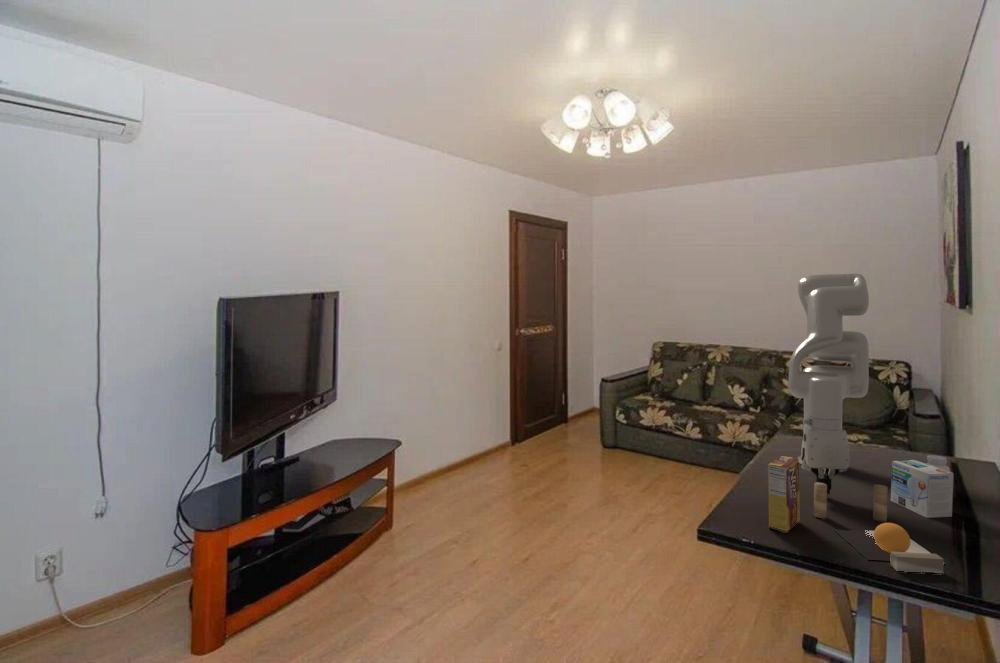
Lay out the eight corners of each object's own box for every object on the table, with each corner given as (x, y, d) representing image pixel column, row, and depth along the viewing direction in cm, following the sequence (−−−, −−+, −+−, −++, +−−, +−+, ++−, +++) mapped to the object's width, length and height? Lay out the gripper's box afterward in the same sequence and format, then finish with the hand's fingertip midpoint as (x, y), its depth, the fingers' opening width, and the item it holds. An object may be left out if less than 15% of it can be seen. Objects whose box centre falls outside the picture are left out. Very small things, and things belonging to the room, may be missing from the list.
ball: (885, 556, 101) (869, 548, 107) (919, 558, 100) (900, 550, 106) (882, 525, 102) (866, 519, 108) (915, 527, 101) (897, 520, 107)
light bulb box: (889, 501, 131) (890, 460, 130) (913, 500, 131) (914, 459, 131) (927, 518, 120) (928, 474, 120) (953, 517, 121) (955, 472, 120)
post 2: (870, 516, 121) (871, 484, 121) (882, 517, 121) (883, 484, 121) (877, 521, 119) (877, 488, 118) (889, 522, 118) (890, 488, 118)
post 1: (811, 514, 123) (812, 482, 123) (823, 514, 123) (823, 482, 123) (816, 518, 121) (817, 486, 120) (828, 519, 120) (829, 486, 120)
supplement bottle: (954, 497, 133) (955, 460, 132) (930, 495, 134) (931, 459, 133) (940, 489, 138) (941, 454, 138) (918, 488, 139) (919, 453, 139)
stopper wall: (890, 566, 99) (890, 551, 99) (935, 569, 98) (936, 553, 97) (896, 571, 97) (896, 556, 97) (943, 574, 96) (943, 559, 96)
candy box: (780, 517, 122) (781, 454, 121) (800, 522, 119) (801, 458, 118) (766, 528, 116) (767, 463, 115) (787, 534, 113) (788, 467, 112)
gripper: (800, 426, 130) (799, 496, 131) (864, 427, 128) (862, 498, 129) (788, 419, 138) (787, 486, 139) (848, 420, 135) (846, 488, 136)
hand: (823, 492), depth 134 cm, fingers closed
